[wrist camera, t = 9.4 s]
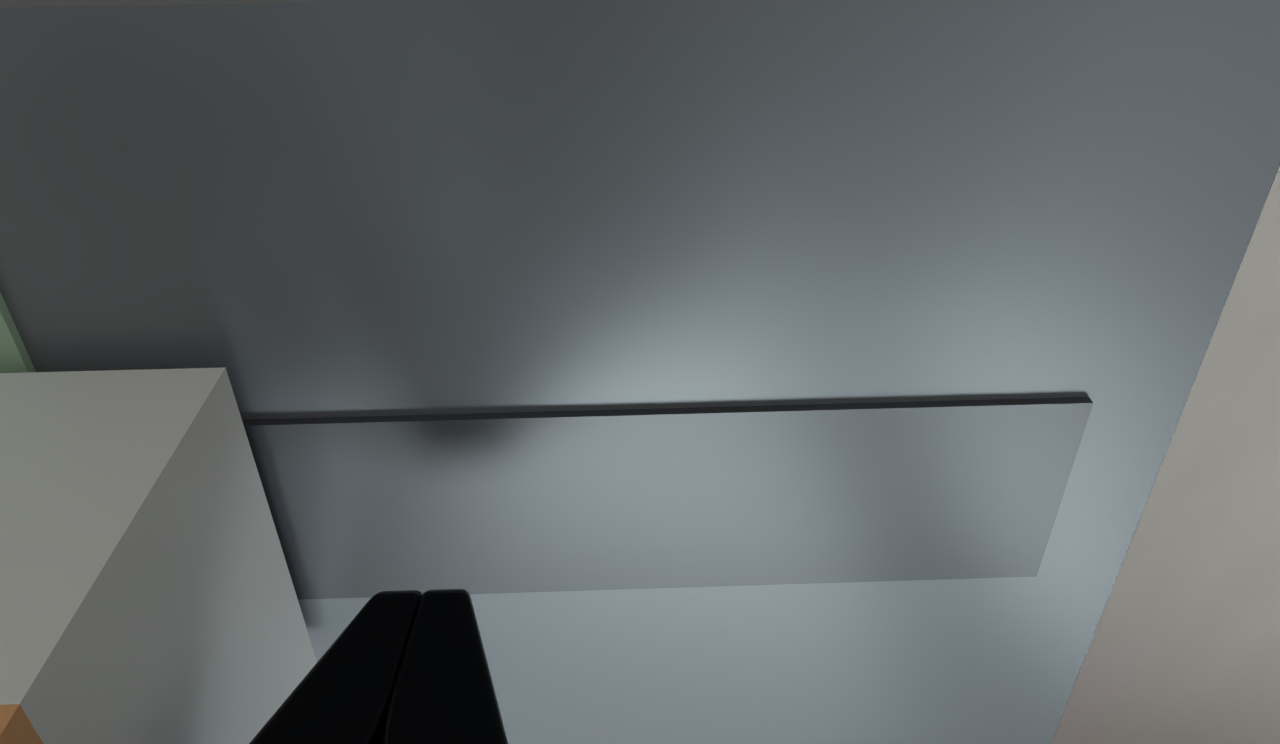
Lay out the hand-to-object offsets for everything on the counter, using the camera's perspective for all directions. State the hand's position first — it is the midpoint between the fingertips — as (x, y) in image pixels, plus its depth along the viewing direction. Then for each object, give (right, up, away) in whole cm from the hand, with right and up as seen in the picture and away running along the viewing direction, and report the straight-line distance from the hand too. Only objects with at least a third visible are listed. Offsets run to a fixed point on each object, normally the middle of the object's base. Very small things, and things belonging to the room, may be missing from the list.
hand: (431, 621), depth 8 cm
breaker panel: (-1, -2, +6) cm, 7 cm away
